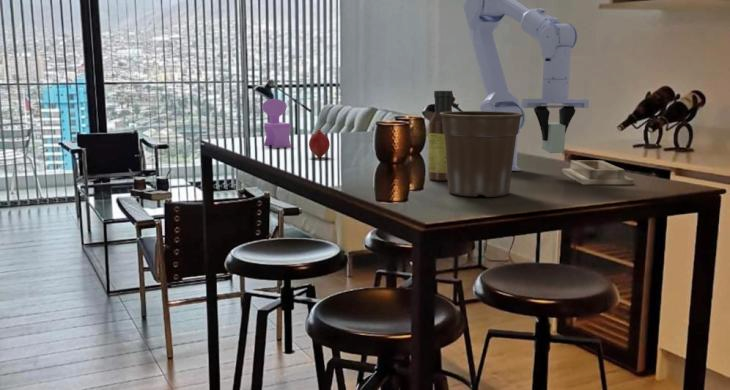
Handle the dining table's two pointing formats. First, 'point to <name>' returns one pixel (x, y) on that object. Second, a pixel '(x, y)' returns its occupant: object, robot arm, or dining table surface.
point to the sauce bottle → (438, 137)
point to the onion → (319, 143)
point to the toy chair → (276, 124)
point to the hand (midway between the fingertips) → (553, 140)
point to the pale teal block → (555, 138)
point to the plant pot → (480, 151)
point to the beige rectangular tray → (596, 172)
